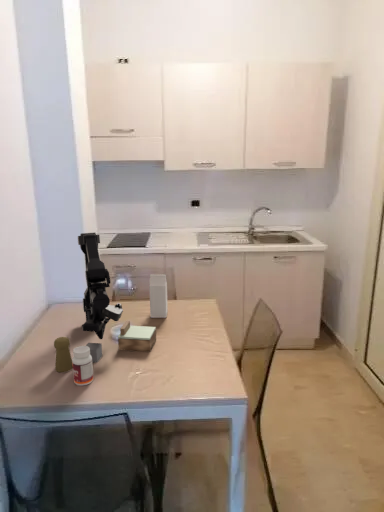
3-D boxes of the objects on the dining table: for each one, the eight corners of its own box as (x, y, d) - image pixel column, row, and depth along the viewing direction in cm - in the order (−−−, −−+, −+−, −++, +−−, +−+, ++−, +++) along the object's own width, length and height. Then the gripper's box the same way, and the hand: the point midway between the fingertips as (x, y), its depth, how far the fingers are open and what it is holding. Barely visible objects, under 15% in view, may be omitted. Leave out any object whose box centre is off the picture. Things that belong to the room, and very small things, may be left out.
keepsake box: (118, 349, 154) (118, 338, 152) (126, 338, 163) (126, 327, 162) (150, 351, 152) (149, 340, 151) (156, 339, 161) (155, 329, 160)
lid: (118, 338, 152) (117, 330, 152) (126, 327, 162) (125, 319, 161) (149, 340, 151) (149, 332, 150) (155, 328, 160) (155, 321, 159)
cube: (83, 361, 145) (82, 349, 144) (89, 355, 150) (88, 342, 149) (97, 362, 145) (96, 349, 143) (102, 355, 149) (101, 343, 148)
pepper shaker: (77, 365, 143) (74, 336, 140) (65, 374, 137) (62, 343, 135) (63, 362, 145) (60, 333, 142) (51, 370, 140) (48, 340, 137)
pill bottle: (70, 380, 134) (68, 348, 131) (88, 373, 137) (86, 342, 134) (79, 388, 129) (76, 355, 126) (96, 381, 133) (94, 349, 130)
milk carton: (166, 317, 182) (165, 277, 178) (150, 317, 183) (148, 277, 178) (167, 311, 189) (166, 272, 185) (152, 311, 189) (150, 272, 185)
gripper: (110, 310, 140) (113, 351, 144) (127, 292, 158) (129, 329, 162) (80, 308, 142) (83, 350, 146) (99, 291, 160) (102, 328, 164)
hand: (101, 338), depth 154 cm, fingers closed
